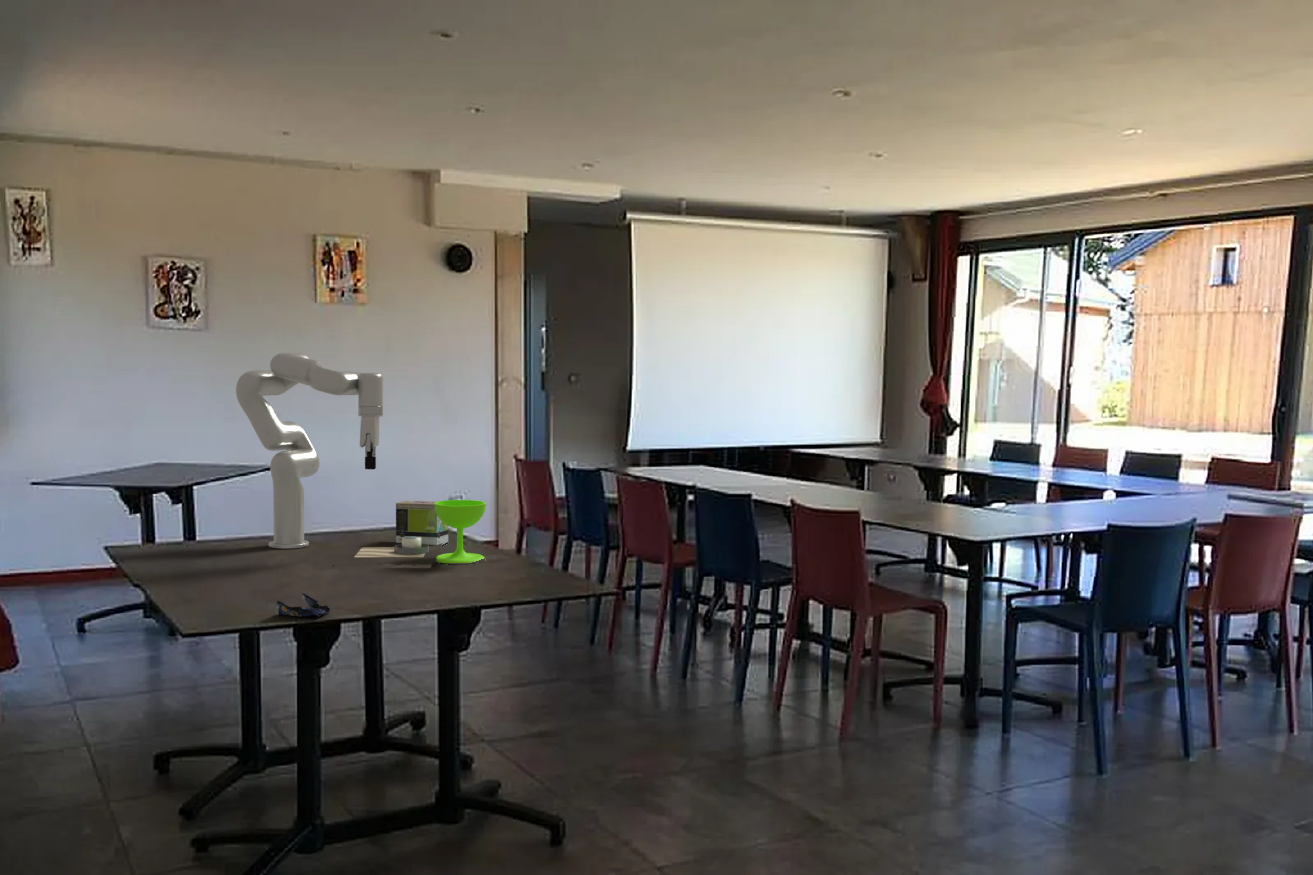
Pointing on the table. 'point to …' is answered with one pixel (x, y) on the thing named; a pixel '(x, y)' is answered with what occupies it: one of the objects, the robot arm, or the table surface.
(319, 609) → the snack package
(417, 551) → the grey faceted ring
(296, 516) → the robot arm
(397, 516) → the tea box
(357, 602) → the table surface
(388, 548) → the board
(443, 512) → the wineglass
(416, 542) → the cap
